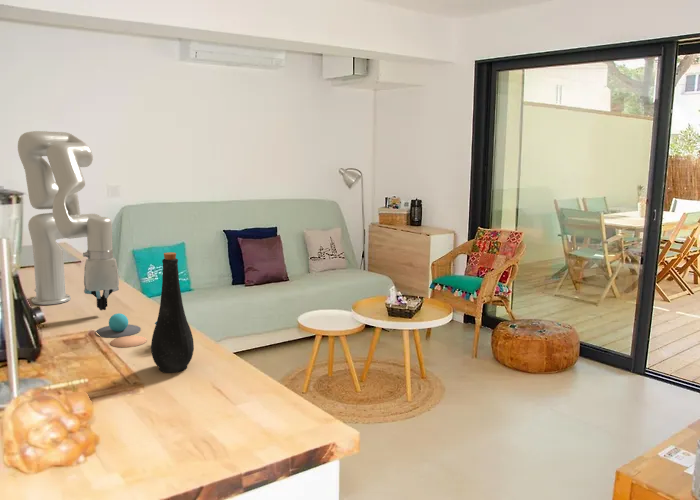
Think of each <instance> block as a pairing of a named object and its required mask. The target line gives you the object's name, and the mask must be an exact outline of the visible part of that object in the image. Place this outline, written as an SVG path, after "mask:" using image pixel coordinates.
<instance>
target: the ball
mask: <svg viewBox="0 0 700 500" xmlns="http://www.w3.org/2000/svg"><path fill="white" fill-rule="evenodd" d="M128 324H129V319H128V317H127V316H126V315H125V314H123V313H119V312H118V313H114V314H113V315H112V316H110V318H109V319H108V326H109V327H110V328H111V329H112V330H113V331H115V332H121V331H123V330H125V329H126V328H127V326H128Z"/></svg>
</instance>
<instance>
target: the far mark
mask: <svg viewBox="0 0 700 500" xmlns="http://www.w3.org/2000/svg"><path fill="white" fill-rule="evenodd" d="M147 341H148V339H147V338H146V337H144V336H140V335H130V336H125V337H117V338H114V339H112V340H111V341H110V342H109V344H110V345H111V346H112V347H115V348H132V347H133V348H134V347H138V346H141V345H143V344H145V343H147Z"/></svg>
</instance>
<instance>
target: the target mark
mask: <svg viewBox="0 0 700 500" xmlns="http://www.w3.org/2000/svg"><path fill="white" fill-rule="evenodd" d="M141 331H142V330H141V327H140V326H138V325H135V324H129V323H128V326H127V328H126V329H125V330H123V331H121V332H115V331H113V330H112V329H111V328H110V327H109V325H106V326H103V327H100V328H98V329H97V330H95V332H97V333H98V334H99V335H100V336H101V337H102V338H108V339H109V338H110V339H113V338H114V339H116V338H119V337H125V336H135V334H136V335H137V334H138V333H140V332H141ZM100 336H99V337H100ZM101 337H100V338H101Z"/></svg>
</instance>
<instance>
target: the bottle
mask: <svg viewBox="0 0 700 500" xmlns="http://www.w3.org/2000/svg"><path fill="white" fill-rule="evenodd" d="M161 263H162V278H161V279H162V280H161V281H162V283H161V295H160V301H159V302H160V303H159V310H158V314H157V315H158V317H157V320H156V321H157V323H156V324H155V326H154V330H153V334H152V337H151V344H150V352H151V356H152V360H153V362H154V364H155V365H156V366H157V367H158V371H159V372H162V373H164V374H165V373H166V374H175V373H180V372H184V371H186V370H187V369H188V365H189V364H190V363H191V360H192V358H193V355H194V349H195V345H194V343H195V342H194V336H193V333H192V330H191V327H190V324H189V322H188V319H187V316H186V312H185V309H184V304H183V297H182V293H181V292H182V291H181V285H180V277H179V275H180V274H179V265H178V264H179V259H178V258H177V253H176V252H174V251H173V252H171V251H169V252H163V259H162V260H161Z"/></svg>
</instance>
